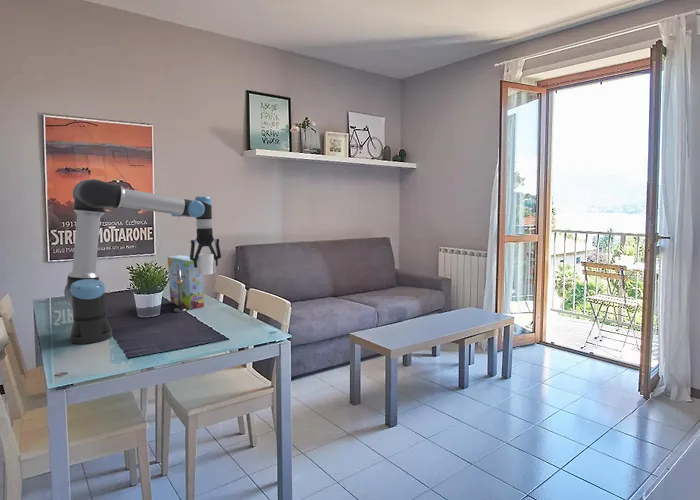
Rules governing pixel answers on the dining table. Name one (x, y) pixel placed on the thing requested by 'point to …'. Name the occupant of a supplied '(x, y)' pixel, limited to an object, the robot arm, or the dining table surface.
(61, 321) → the dining table surface
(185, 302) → the snack box
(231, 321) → the dining table surface
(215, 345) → the dining table surface
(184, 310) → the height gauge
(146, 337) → the dining table surface
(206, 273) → the white cup
